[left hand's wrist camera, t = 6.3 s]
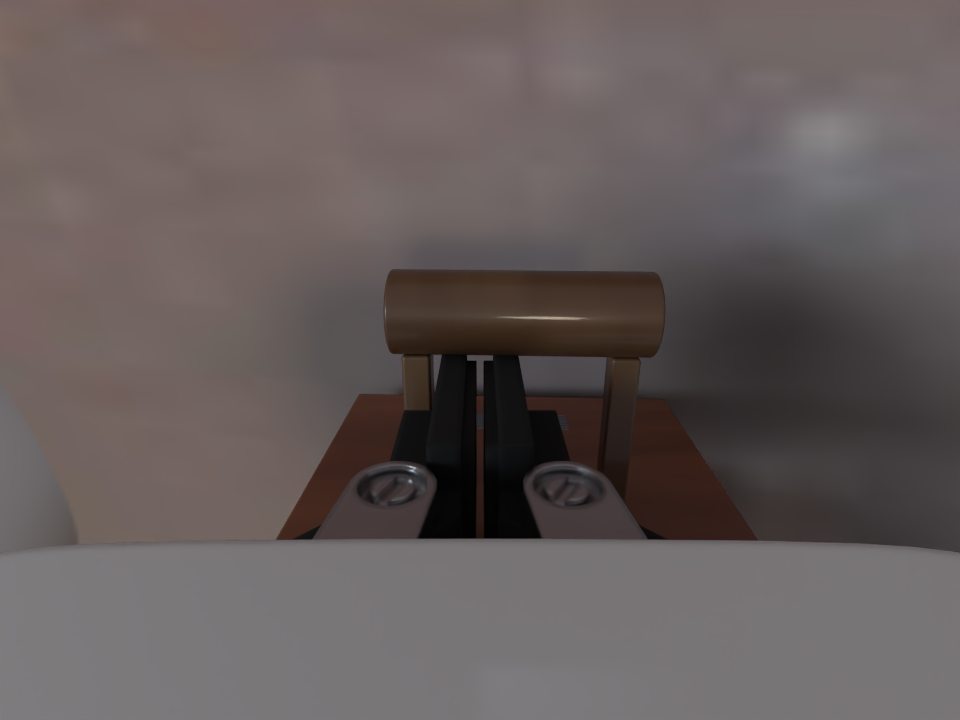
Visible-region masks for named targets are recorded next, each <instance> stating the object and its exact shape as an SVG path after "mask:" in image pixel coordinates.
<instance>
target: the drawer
mask: <svg viewBox="0 0 960 720" xmlns="http://www.w3.org/2000/svg"><path fill="white" fill-rule="evenodd" d="M664 323H665V296H664V290H663V285H662V282H661V279H660V277H659V275H658V274H657V273H655V272H611V271H513V270H415V269H393V270H391V271H390V272H389V274H388V277H387V281H386V286H385V294H384V329H385V337H386V342H387V346H388V349H389V351H390V352H391V353H393V354H403V357H402V376H403V395H386V394H359V395H358V397H357V399H356V401H355V402H354V404H353V406H352V408H351V409H350V411H349V413H348V415H347V416H346V418H345V420H344V422H343V423H342V425H341V427H340V429H339V430H338V432H337V434H336V436H335V437H334V439H333V441H332V443H331V444H330V446H329V448H328V450H327V451H326V453H325V455H324V457H323V458H322V460H321V462H320V464H319V465H318V467H317V469H316V471H315V472H314V474H313V476H312V478H311V479H310V481H309V483H308V485H307V486H306V488H305V490H304V492H303V493H302V495H301V497H300V499H299V500H298V502H297V504H296V506H295V507H294V509H293V511H292V513H291V514H290V516H289V518H288V519H287V521H286V523H285V525H284V526H283V528H282V530H281V532H280V533H279V535H278V537H277V539H276V540H292V539H294V538H296V537H298V536H300V535H302V534H304V533H306V532H308V531H310V530H312V529H314V528H316V527H318V526H320V525H322V523H323V522H324V520H325V519H326V517H327V516H328V514H329V513H330V511H331V509H332V508H333V506H334V505H335V503H336V502H337V500H338V499H339V497H340V496H341V494H342V492H343V491H344V489H345V488H346V486H347V485H348V483H349V482H350V480H351V479H352V478H353V477H354V476H355V475H356V474H357V473H359V472H360V471H362V470H364V469H365V468H367V467H370V466H373V465H375V464H378V463H384V462H389V461H390V458H391V454H392V451H393V447H394V444H395V440H396V437H397V433H398V430H399V426H400V423H401V419H402V416H403V412H404V410H432V408H433V403H434V397H435V395H434V368H433V354H437V355H506V356H575V357H607V361H606V372H605V384H604V395H603V398H567V397H526V402H527V408H528V410H556V412H557V415H558V419H559V422H560V426H561V429H562V433H563V436H564V440H565V443H566V447H567V450H568V454H569V458H570V461H571V462H576V463H582V464H585V465H587V466H590V467H593V468H595V469H596V470H598V471H600V472H601V473H603V474H604V475H605V476H606V477H607V478H608V479H609V480H610V482H611V483H612V485H613V486H614V488H615V489H616V491H617V492H618V494H619V496H620V497H621V499H622V500H623V502H624V503H625V505H626V506H627V508H628V509H629V511H630V513H631V514H632V516H633V517H634V519H635V520H636V522H637V523H638V524H639V525H641V526H642V527H644V528H646V529H648V530H650V531H652V532H654V533H656V534H658V535H660V536H662V537H664V538H666V539H668V540H743V541H758V539H757V538H756V536H755V535H754V533H753V532H752V530H751V529H750V527H749V526H748V524H747V523H746V521H745V520H744V518H743V517H742V515H741V514H740V512H739V511H738V509H737V508H736V506H735V505H734V503H733V502H732V500H731V499H730V497H729V496H728V494H727V493H726V491H725V490H724V488H723V487H722V485H721V484H720V482H719V481H718V479H717V478H716V476H715V475H714V473H713V472H712V470H711V469H710V467H709V466H708V464H707V463H706V461H705V460H704V458H703V457H702V455H701V454H700V452H699V451H698V449H697V448H696V446H695V445H694V443H693V442H692V440H691V439H690V437H689V436H688V434H687V433H686V431H685V430H684V428H683V427H682V425H681V424H680V422H679V421H678V419H677V418H676V416H675V415H674V413H673V412H672V410H671V409H670V407H669V406H668V404H667V403H666V401H665V400H664V399H637V391H638V382H639V373H640V365H641V361H640V359H639V358H638V357H644V358H650V357H653V356H654V355H655V354H656V353H657V351H658V349H659V347H660V344H661V340H662V336H663V331H664ZM483 443H484V396H477V496H476V539H484V486H483Z"/></svg>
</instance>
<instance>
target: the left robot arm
mask: <svg viewBox="0 0 960 720" xmlns="http://www.w3.org/2000/svg"><path fill="white" fill-rule="evenodd" d="M483 486H484V539H476V496H477V395H476V361H467V355H442V358H441V364H440V369H439V375H438V380H437V386H436V391H435V397H434V403H433V408H432V410H404V412H403V416H402V419H401V423H400V426H399V430H398V433H397V437H396V440H395V444H394V447H393V451H392V454H391V458H390V461H389V462H384V463H378V464H375V465H373V466H370V467H367V468H365V469H364V470H362V471H360V472H359V473H357V474H356V475H355V476H354V477H353V478H352V479H351V480H350V482H349V483H348V485H347V486H346V488H345V489H344V491H343V492H342V494H341V496H340V497H339V499H338V500H337V502H336V503H335V505H334V506H333V508H332V509H331V511H330V513H329V514H328V516H327V517H326V519H325V520H324V522H323V523H322V525H320V526H318V527H316V528H314V529H312V530H310V531H308V532H306V533H304V534H302V535H300V536H298V537H296V538H294V539H292V540H229V541H165V542H132V543H100V544H80V545H66V546H52V547H39V548H31V549H23V550H16V551H9V552H1V553H0V720H960V553H959V552H953V551H946V550H937V549H929V548H920V547H910V546H894V545H878V544H862V543H828V542H791V541H743V540H668V539H666V538H664V537H662V536H660V535H658V534H656V533H654V532H652V531H650V530H648V529H646V528H644V527H642V526H641V525H639V524H638V523H637V522H636V520H635V519H634V517H633V516H632V514H631V513H630V511H629V509H628V508H627V506H626V505H625V503H624V502H623V500H622V499H621V497H620V496H619V494H618V492H617V491H616V489H615V488H614V486H613V485H612V483H611V482H610V480H609V479H608V478H607V477H606V476H605V475H604V474H603V473H601V472H600V471H598V470H596V469H595V468H593V467H590V466H587V465H585V464H582V463H576V462H571V461H570V458H569V454H568V450H567V447H566V443H565V440H564V436H563V433H562V429H561V426H560V422H559V419H558V415H557V412H556V410H528V408H527V402H526V396H525V391H524V385H523V380H522V374H521V369H520V363H519V357H518V356H506V355H493V361H484V443H483Z"/></svg>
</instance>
